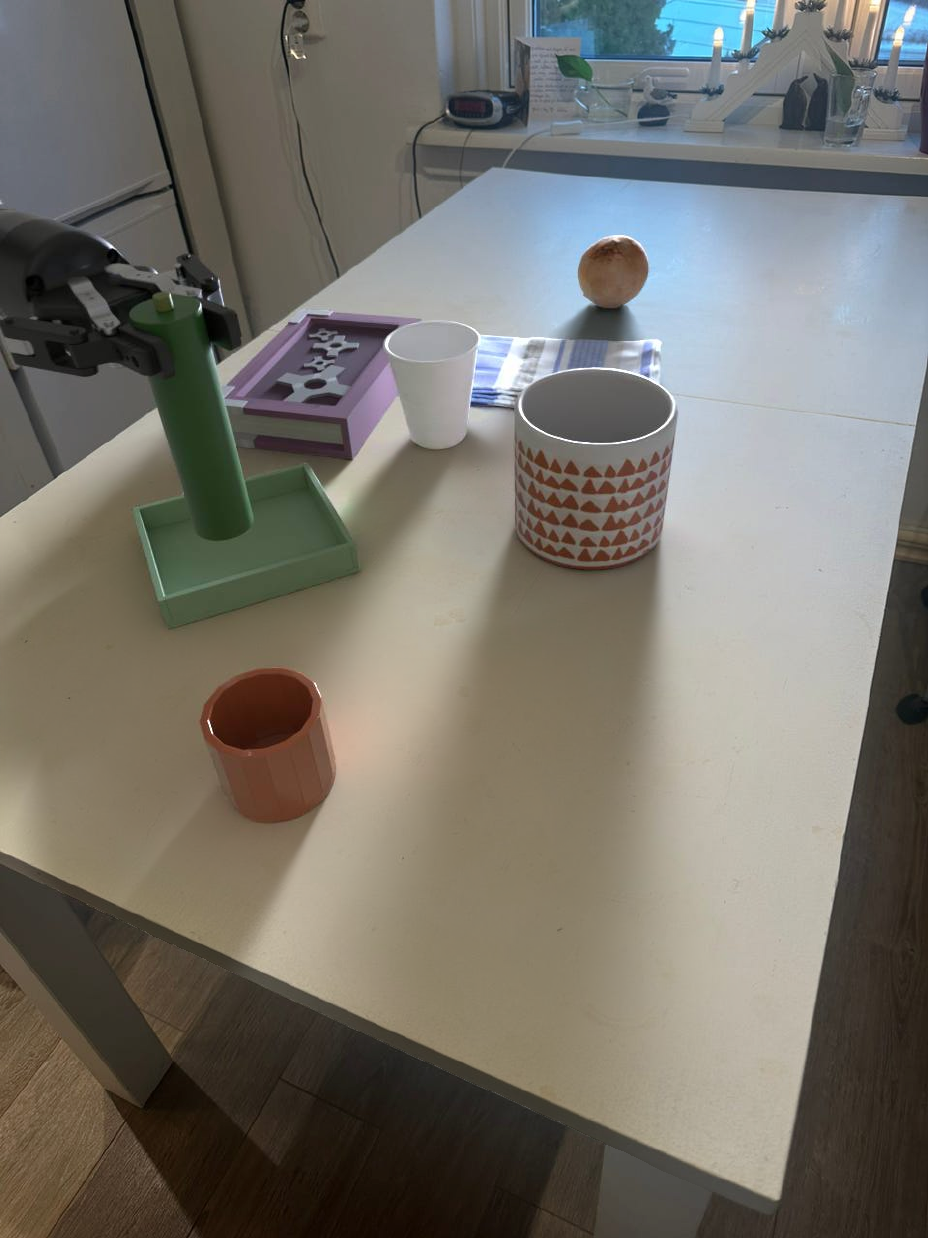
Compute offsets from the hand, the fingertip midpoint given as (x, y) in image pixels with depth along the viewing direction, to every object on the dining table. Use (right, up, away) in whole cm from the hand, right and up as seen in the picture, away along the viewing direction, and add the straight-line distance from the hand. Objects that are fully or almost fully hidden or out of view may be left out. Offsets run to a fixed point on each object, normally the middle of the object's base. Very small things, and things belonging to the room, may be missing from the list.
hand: (200, 346), depth 49 cm
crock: (+2, -27, +12) cm, 29 cm away
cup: (+12, +4, +46) cm, 48 cm away
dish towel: (+27, +13, +55) cm, 62 cm away
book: (-1, +11, +54) cm, 55 cm away
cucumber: (-2, -9, +10) cm, 14 cm away
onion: (+35, +28, +71) cm, 84 cm away
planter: (+27, -7, +33) cm, 43 cm away
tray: (-5, -9, +32) cm, 34 cm away
